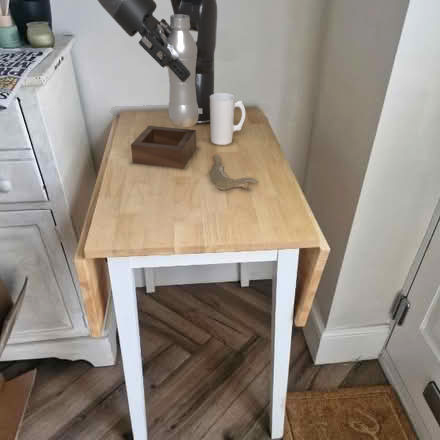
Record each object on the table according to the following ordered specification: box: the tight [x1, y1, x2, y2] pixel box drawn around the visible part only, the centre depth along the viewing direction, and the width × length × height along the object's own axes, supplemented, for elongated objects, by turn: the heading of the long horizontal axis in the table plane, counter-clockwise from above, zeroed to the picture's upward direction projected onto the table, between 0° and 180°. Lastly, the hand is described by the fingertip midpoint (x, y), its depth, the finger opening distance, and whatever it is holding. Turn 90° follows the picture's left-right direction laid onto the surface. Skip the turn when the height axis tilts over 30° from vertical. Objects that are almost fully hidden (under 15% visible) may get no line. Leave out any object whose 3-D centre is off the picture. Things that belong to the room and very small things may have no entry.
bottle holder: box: [130, 125, 197, 170], centre depth 113 cm, size 14×14×5 cm
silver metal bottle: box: [167, 14, 199, 128], centre depth 86 cm, size 6×7×20 cm
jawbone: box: [210, 153, 260, 191], centre depth 106 cm, size 9×20×2 cm, turn 30°
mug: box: [209, 92, 246, 146], centre depth 119 cm, size 10×7×12 cm, turn 99°
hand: (190, 73), depth 86 cm, fingers closed on silver metal bottle, 6 cm apart
